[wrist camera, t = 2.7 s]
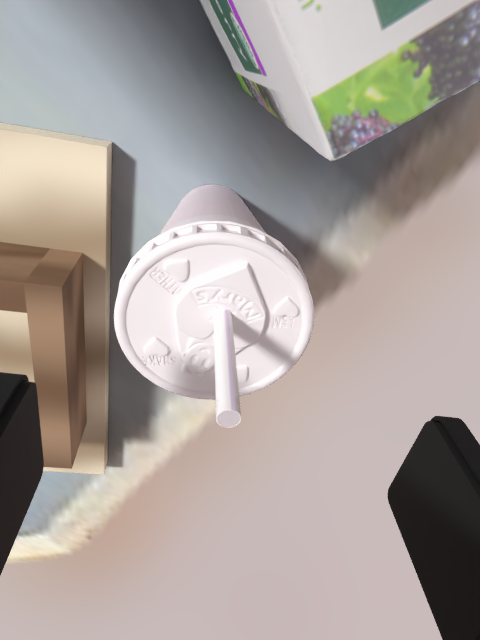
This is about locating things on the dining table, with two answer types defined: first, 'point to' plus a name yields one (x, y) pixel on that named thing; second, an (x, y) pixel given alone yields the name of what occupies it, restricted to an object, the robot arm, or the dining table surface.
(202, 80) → the dining table surface
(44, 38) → the dining table surface
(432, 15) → the syrup box
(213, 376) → the smoothie
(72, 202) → the socket stand
